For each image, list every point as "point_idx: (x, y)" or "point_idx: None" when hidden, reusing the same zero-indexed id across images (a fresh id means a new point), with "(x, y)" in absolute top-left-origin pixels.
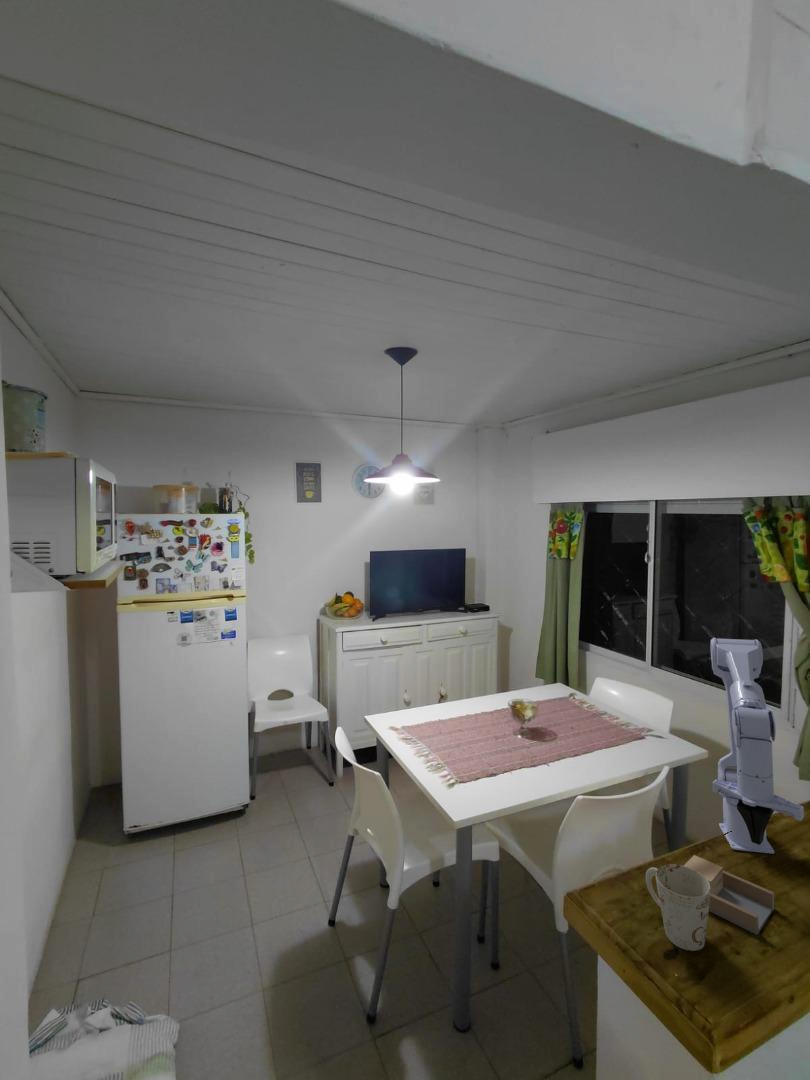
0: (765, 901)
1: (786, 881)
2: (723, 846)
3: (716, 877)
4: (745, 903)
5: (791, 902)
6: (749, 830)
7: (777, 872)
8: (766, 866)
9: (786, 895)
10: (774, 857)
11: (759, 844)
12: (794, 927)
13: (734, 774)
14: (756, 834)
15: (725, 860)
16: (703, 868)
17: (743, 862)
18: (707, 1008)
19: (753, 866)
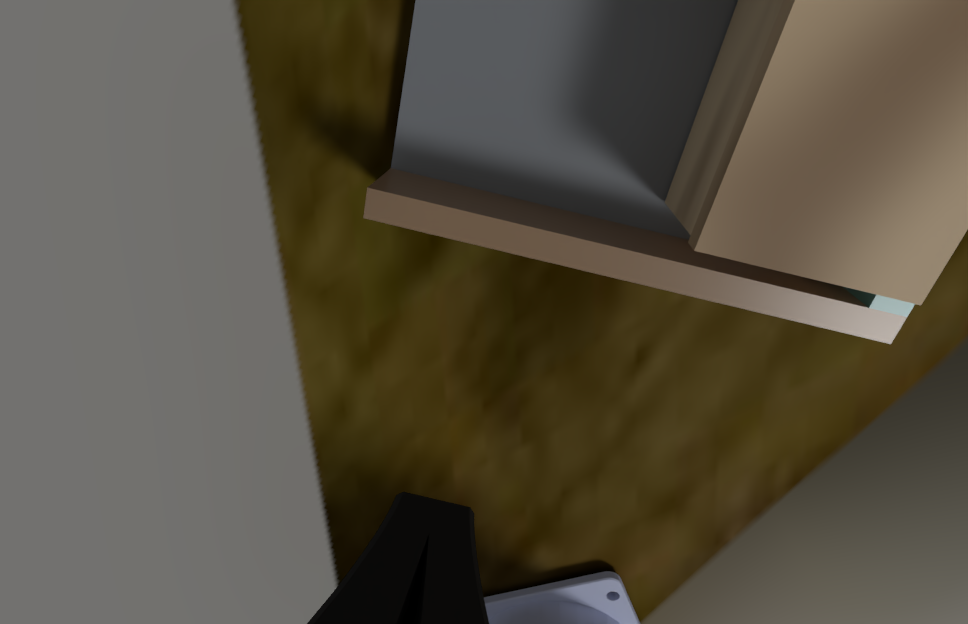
0: (424, 182)
1: (371, 446)
2: (656, 577)
3: (747, 97)
4: (532, 117)
5: (327, 295)
6: (470, 613)
7: (414, 492)
8: None
9: (356, 340)
10: None
11: (399, 496)
12: (279, 74)
13: None
14: (391, 576)
15: (646, 478)
16: (863, 142)
17: (561, 499)
18: None
19: (516, 489)
